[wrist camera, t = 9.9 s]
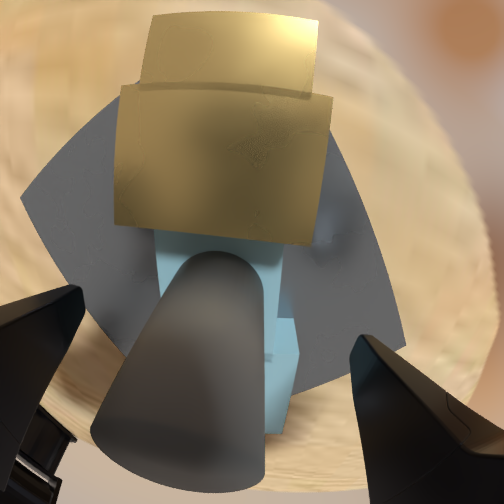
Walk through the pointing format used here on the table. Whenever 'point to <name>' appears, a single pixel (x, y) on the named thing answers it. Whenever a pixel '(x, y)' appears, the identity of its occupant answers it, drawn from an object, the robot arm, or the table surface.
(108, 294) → the base plate
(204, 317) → the link
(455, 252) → the table surface
